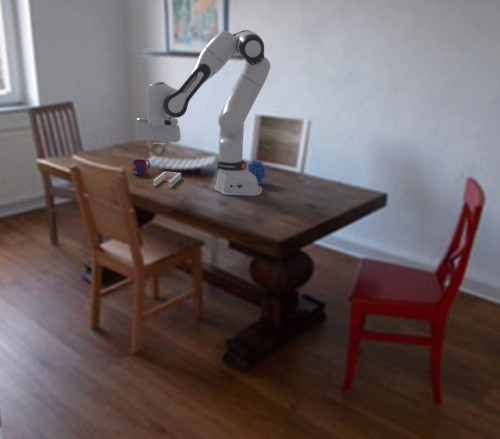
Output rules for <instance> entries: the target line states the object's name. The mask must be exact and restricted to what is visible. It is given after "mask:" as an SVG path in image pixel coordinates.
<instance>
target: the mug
mask: <svg viewBox="0 0 500 439" xmlns="http://www.w3.org/2000/svg"><path fill="white" fill-rule="evenodd" d="M147 163H148V164H147ZM150 167H151V162H150V160H148V159H141V158H139V159H134V160H132V174H133V175H134V176H139V177H143V176H146V175H147V171H148V170H149V169H150Z"/></svg>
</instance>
